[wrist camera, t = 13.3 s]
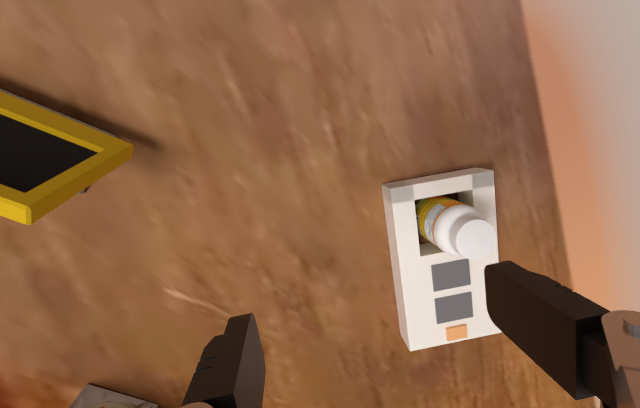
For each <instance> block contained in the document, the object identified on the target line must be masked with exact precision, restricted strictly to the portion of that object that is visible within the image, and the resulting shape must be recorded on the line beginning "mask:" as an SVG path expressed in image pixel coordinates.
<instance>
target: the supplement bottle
mask: <svg viewBox="0 0 640 408" xmlns="http://www.w3.org/2000/svg"><path fill="white" fill-rule="evenodd" d="M415 211H416V220H417V229H418V232H419V233H420V234H421V235H422V236H423V237H425V238H426V239H427V240H429V241H430V242H432V243H433V244H434V245H436V246H437V247H438V248H440V249H441V250H442V251H444V252H445V253H447V254H449V255H452V256H463V257H464V258H467V259H470V260H477V259H481V258H483V257H485V256H486V255H488V254H489V253H490V252H491V251H492V249H493V248H494V246H495V243H496V232H495V229H494V227H493V226H492V225H491V224H490V223H489V222H487V221H486V220H485V219H484V217H483V215H482V214H481V213H480V212H479V211H478V210H477V209H475V208H473V207H471V206H469V205H466V204H463V203H461V202H458V201H456V200H453V199H450V198H448V197H445V196H442V195H439V196H434V197H428V198H423V199H422V200H421V201H420V202H419V203H418V204H417V205H416V207H415Z"/></svg>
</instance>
